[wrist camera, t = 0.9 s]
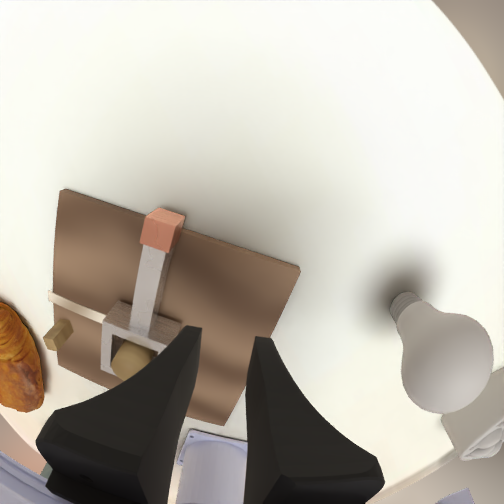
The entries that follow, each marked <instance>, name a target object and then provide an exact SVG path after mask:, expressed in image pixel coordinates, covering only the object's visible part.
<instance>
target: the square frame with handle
mask: <svg viewBox="0 0 504 504" xmlns="http://www.w3.org/2000/svg"><path fill="white" fill-rule="evenodd" d="M184 220H185V216H183V215H180V214H177V213H174V212H171V211H168V210H165V209H162V208H157V209H156V210H154V211H153V212H151V213H150V214H148V215H147V216H146V217H145V220H144V225H143V229H142V234H141V238H140V243H141V244H144V245H143V249H142V254H141V259H140V264H139V270H138V275H137V281H136V286H135V292H134V298H133V305H129V304H126V303H124V302H121V301H119V300H118V301H117V303H116V304H115V305H114V306H113V308H112V309H111V310H110V311H109V313H108V314H107V315H106V317H105V318H104V319H103V321H102V339H101V370H103V371H106V372H108V373H110V374H113V375H115V376H116V374H115V373H114V372H113V370H112V368H111V362H112V360H113V359H114V357H115V355H116V353H117V352H118V350H119V348H120V347H121V345H122V343H123V338H124V339H126V340H129V341H131V342H134V343H136V344H139V345H142V346H144V347H147V348H150V349H152V350H155V351H158V355H159V354H160V353H161V352H162V351H163V350H164V349H165V348H166V347H167V346H168V345H169V344H170V343H171V342H172V340H173V339H174V338H175V337H176V336H177V335H178V333H179V329H180V325H181V323H178V322H175V321H173V320H170V319H167V318H164V317H161V316H158V311H159V307H160V302H161V298H162V293H163V289H164V285H165V281H166V276H167V272H168V268H169V264H170V260H171V256H172V252H173V248H174V245H175V244H176V243H177V242H178V240H179V238H180V234H181V231H182V227H183V223H184ZM154 358H155V357H152V359H151V361H152V360H153V359H154ZM151 361H150V362H151ZM117 377H118V376H117Z"/></svg>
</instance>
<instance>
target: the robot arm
mask: <svg viewBox="0 0 504 504" xmlns="http://www.w3.org/2000/svg"><path fill="white" fill-rule="evenodd" d="M201 336H202V328H201V327H195V326H189V325H186V326H185V327H184V328H183V329H182V330H181V331H180V333H179V334H178V335H177V336H176V337H175V338H174V339H173V340H172V342H171V343H170V344H169V345H168V346H167V347H166V348H165V349H164V350H163V351H162V352H161V353H160V354H159V355H157V356H156V357H155V358H154V359H153V360H152V361H151V362H149V363H148V364H147V365H146V366H145V367H143V368H142V369H141V370H140V371H138V372H137V373H136V374H134V375H133V376H131V377H130V378H128V379H127V380H125V381H124V382H122V383H120V384H119V385H117V386H115V387H114V388H112V389H110V390H108V391H106V392H104V393H102V394H100V395H98V396H95V397H93V398H91V399H89V400H86V401H84V402H81V403H78V404H75V405H72V406H69V407H65V408H62V409H58V410H55V411H54V412H53V414H52V415H51V416H50V417H49V419H48V420H47V422H46V423H45V425H44V426H43V428H42V430H41V432H40V433H39V435H38V437H37V439H36V446H37V448H38V450H39V452H40V453H41V455H42V456H43V457H44V459H45V460H46V461H47V463H48V464H49V465H50V466H51V468H52V469H53V470H52V472H51V474H50V476H49V478H48V479H46V478H44V477H42V476H41V475H39V474H37V473H35V472H33V471H31V470H30V469H28V468H26V467H25V466H23V465H21V464H20V463H18V462H17V461H15V460H13V459H12V458H10V457H9V456H7V455H6V454H4V453H3V452H1V451H0V504H167V502H168V495H169V488H170V482H171V476H172V470H173V465H174V459H175V454H176V449H177V444H178V439H179V435H180V431H181V428H182V425H183V422H184V419H185V415H186V412H187V409H188V406H189V403H190V400H191V397H192V394H193V391H194V388H195V383H196V378H197V373H198V368H199V360H200V348H201ZM245 397H246V420H247V442H243V441H238V440H233V439H229V438H224V437H220V436H215V435H211V434H207V433H203V432H199V431H196V430H189V432H188V434H187V437H186V439H185V442H184V444H183V447H182V449H181V452H180V455H179V457H178V460H177V464H178V465H181V466H183V467H182V472H181V477H180V482H179V488H178V493H177V498H176V504H365V503H366V502H367V501H368V500H369V499H371V498H372V497H373V496H374V495H376V494H377V493H378V492H379V491H380V490H381V489H382V488H383V486H384V484H385V480H384V477H383V473H382V470H381V467H380V465H379V462H378V460H377V457H375V456H374V455H372V454H370V453H369V452H367V451H365V450H364V449H362V448H361V447H359V446H357V445H356V444H354V443H353V442H352V441H350V440H349V439H348V438H346V437H345V436H344V435H342V434H341V433H340V432H339V431H338V430H336V429H335V428H334V427H333V426H332V425H331V424H330V423H329V422H328V421H327V420H325V419H324V418H323V417H322V416H321V415H320V414H319V412H318V411H317V410H316V409H315V408H314V407H313V406H312V405H311V403H310V402H309V401H308V400H307V398H306V397H305V396H304V394H303V393H302V392H301V390H300V389H299V387H298V386H297V385H296V383H295V381H294V380H293V378H292V377H291V375H290V373H289V372H288V370H287V368H286V367H285V365H284V363H283V361H282V359H281V357H280V355H279V353H278V351H277V349H276V347H275V344H274V342H273V340H272V339H271V338H266V337H259V336H255V340H254V345H253V349H252V354H251V358H250V363H249V367H248V372H247V381H246V393H245ZM435 504H475V503H474V501H473V498H472V496H471V494H470V491H469V489H468V488H464V489H462V490H460V491H457V492H455V493H452V494H450V495H448V496H446V497H444V498H442V499H441V500H439V501H438V502H436V503H435Z"/></svg>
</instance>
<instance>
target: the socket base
mask: <svg viewBox="0 0 504 504" xmlns="http://www.w3.org/2000/svg"><path fill="white" fill-rule="evenodd" d="M145 217H146V216H145V215H142V214H139V213H136V212H133V211H130V210H127V209H124V208H122V207H119V206H116V205H113V204H110V203H107V202H104V201H101V200H98V199H95V198H92V197H89V196H86V195H83V194H80V193H77V192H74V191H71V190H68V189H64V190H61V191H60V193H59V200H58V208H57V218H56V228H55V241H54V261H53V292H51V291H48V296H49V301H51V302H53V305H54V326H53V327H52V328H51V329H50V330H49V331H48V332H47V334H46V335H45V336H44V337H43V339H44V342H45V344H46V346H47V349H49V350H53V351H57V357H58V365H60V366H62V367H64V368H66V369H68V370H70V371H72V372H74V373H76V374H78V375H80V376H82V377H84V378H86V379H88V380H90V381H92V382H95V383H97V384H99V385H101V386H104V387H106V388H108V389H112V388H114V387H115V386H117V385H119V384H120V383H122V382H124V381H125V380H127V379H128V378H130V377H131V376H133V375H134V374H136V373H137V372H138V371H140V370H141V369H142V368H143V367H145V366H146V365H147V364H148V363H149V362H150V361H151V359H152V357H156V356H157V355H158V351H155V350H152V349H150V348H147V347H144V346H142V345H139V344H136V343H134V342H131V341H129V340H126V339H124V338H123V343H122V345H121V347H120V348H119V350H118V352H117V353H116V355H115V357H114V359H113V360H112V362H111V368H112V370H113V372H114V373H115V374H116V376H115V375H113V374H110V373H108V372H106V371H103V370H101V339H102V321H103V319H104V318H105V317H106V315H107V314H108V313H109V311H110V310H111V309H112V308H113V306H114V305H115V304H116V303H117V301H118V300H119V301H121V302H124V303H126V304H129V305H133V298H134V292H135V286H136V281H137V275H138V270H139V264H140V259H141V254H142V249H143V245H144V244H141V243H140V238H141V234H142V229H143V225H144V220H145ZM300 272H301V271H300V268H299V267H298V266H295V265H292V264H289V263H286V262H283V261H280V260H277V259H274V258H271V257H268V256H265V255H262V254H259V253H256V252H253V251H250V250H247V249H244V248H241V247H238V246H235V245H232V244H229V243H226V242H223V241H220V240H217V239H214V238H211V237H208V236H205V235H202V234H199V233H196V232H193V231H190V230H187V229H184V228H182V231H181V234H180V238H179V240H178V242H177V243H176V244H175V245H174V248H173V252H172V256H171V260H170V264H169V268H168V272H167V276H166V281H165V285H164V289H163V293H162V298H161V302H160V307H159V311H158V316H161V317H164V318H167V319H170V320H173V321H175V322H178V323H181V325H180V329H179V333H180V331H181V330H182V329H183V328H184V327H185V326H186V325H189V326H195V327H201V328H202V336H201V348H200V360H199V368H198V373H197V378H196V383H195V388H194V391H193V394H192V397H191V400H190V403H189V406H188V409H187V412H186V415H185V416H187V417H190V418H194V419H197V420H201V421H205V422H208V423H212V424H216V425H221V426H224V425H225V423H226V422H227V420H228V418H229V416H230V414H231V412H232V411H233V409H234V407H235V405H236V403H237V401H238V399H239V397H240V396H241V394H242V392H243V390H244V388H245V386H246V381H247V372H248V367H249V363H250V358H251V354H252V349H253V345H254V340H255V336H259V337H266V338H270V336H271V334H272V332H273V330H274V328H275V326H276V324H277V322H278V320H279V318H280V316H281V314H282V311H283V309H284V307H285V305H286V303H287V301H288V299H289V296H290V294H291V292H292V290H293V288H294V286H295V283H296V281H297V279H298V277H299V275H300ZM179 333H178V334H179ZM117 376H118V377H117Z"/></svg>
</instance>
